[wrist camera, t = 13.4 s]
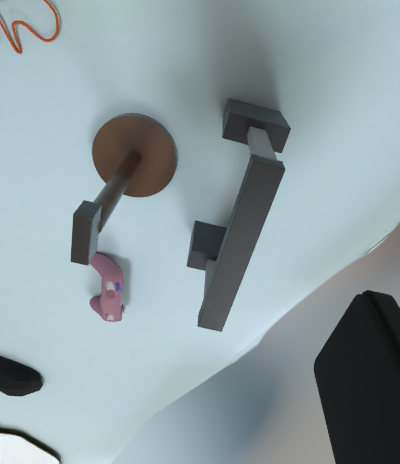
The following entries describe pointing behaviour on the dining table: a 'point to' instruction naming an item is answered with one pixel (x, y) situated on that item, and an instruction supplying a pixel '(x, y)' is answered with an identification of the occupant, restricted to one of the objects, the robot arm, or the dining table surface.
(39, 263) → the dining table surface
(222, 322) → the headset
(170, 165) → the headphone stand
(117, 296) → the video game controller
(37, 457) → the plate
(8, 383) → the gaming mouse
